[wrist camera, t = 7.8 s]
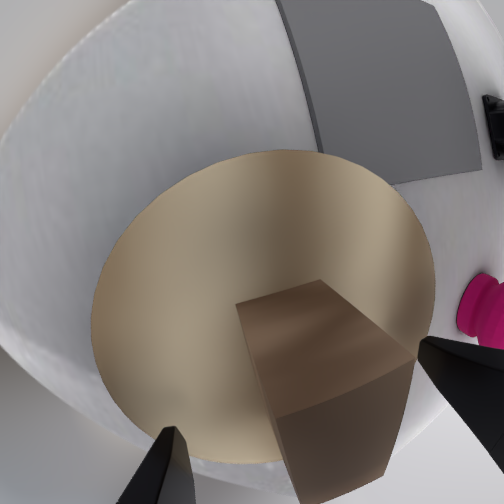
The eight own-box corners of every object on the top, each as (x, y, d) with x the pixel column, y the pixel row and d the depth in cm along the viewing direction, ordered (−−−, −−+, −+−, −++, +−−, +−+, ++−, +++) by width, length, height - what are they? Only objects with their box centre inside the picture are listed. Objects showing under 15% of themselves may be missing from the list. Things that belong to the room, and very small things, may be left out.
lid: (414, 135, 10) (526, 128, 4) (410, 393, 14) (461, 446, 8) (44, 218, 8) (-74, 260, 2) (179, 471, 12) (186, 551, 6)
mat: (430, 8, 12) (433, 6, 12) (477, 169, 17) (482, 170, 16) (264, -28, 10) (266, -33, 10) (327, 195, 15) (332, 196, 14)
